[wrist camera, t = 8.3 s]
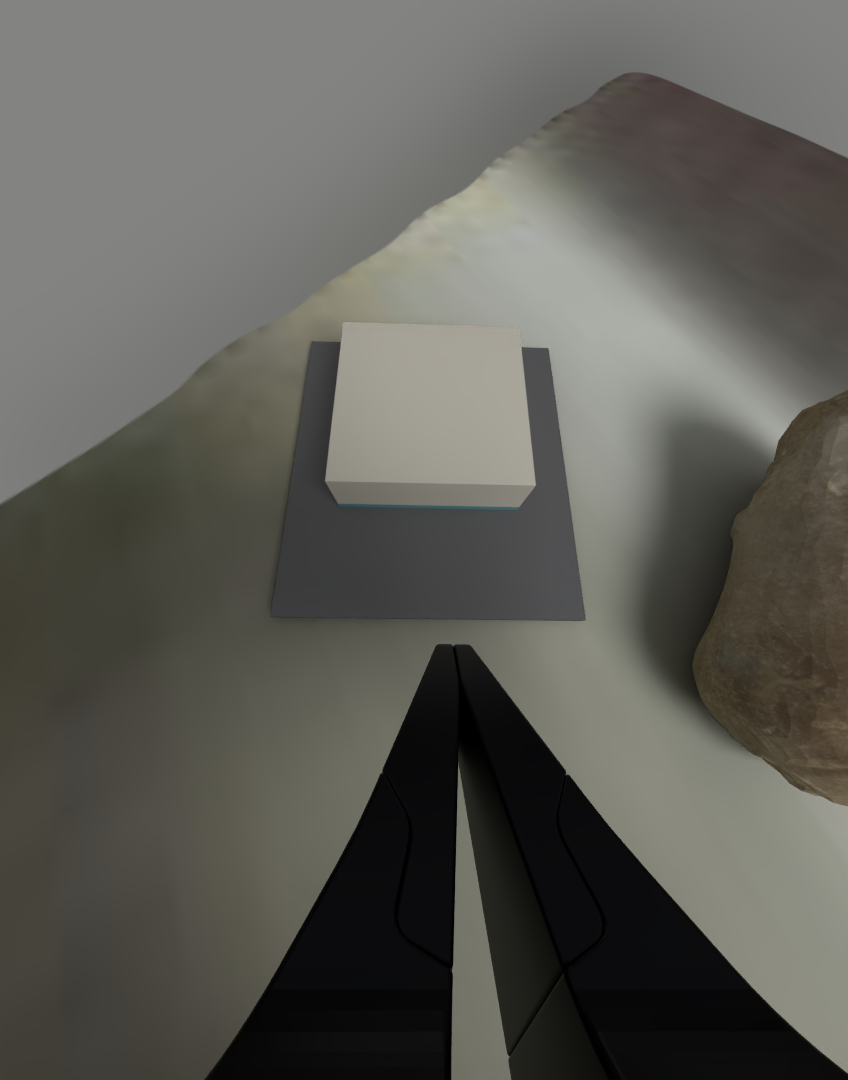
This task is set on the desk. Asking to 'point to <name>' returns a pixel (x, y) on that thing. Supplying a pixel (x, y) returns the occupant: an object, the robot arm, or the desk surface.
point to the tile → (430, 418)
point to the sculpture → (789, 612)
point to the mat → (427, 532)
